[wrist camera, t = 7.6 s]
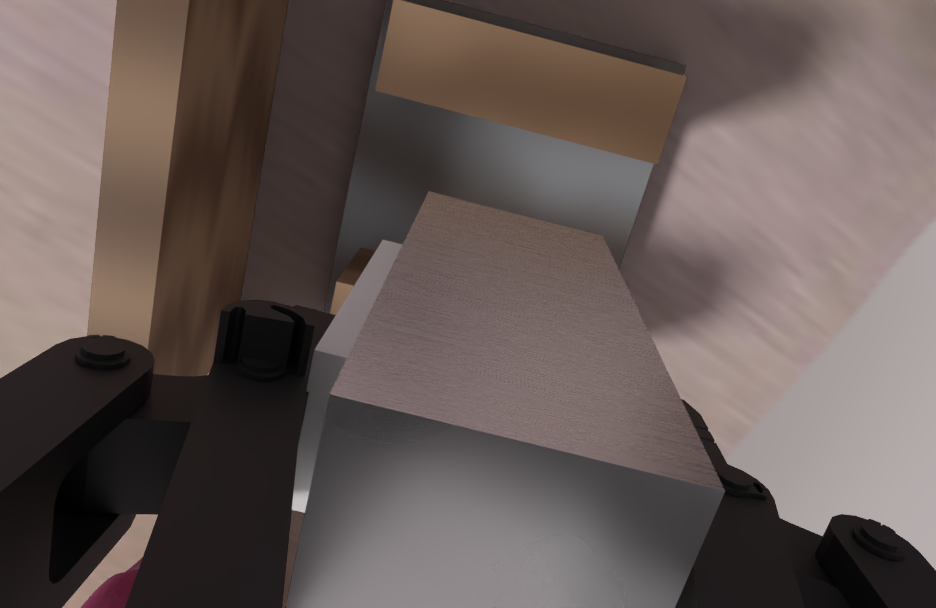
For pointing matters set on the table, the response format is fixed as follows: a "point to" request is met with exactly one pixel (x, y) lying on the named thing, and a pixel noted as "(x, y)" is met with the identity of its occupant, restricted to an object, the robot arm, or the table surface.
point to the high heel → (114, 590)
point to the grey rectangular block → (503, 434)
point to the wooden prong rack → (377, 154)
